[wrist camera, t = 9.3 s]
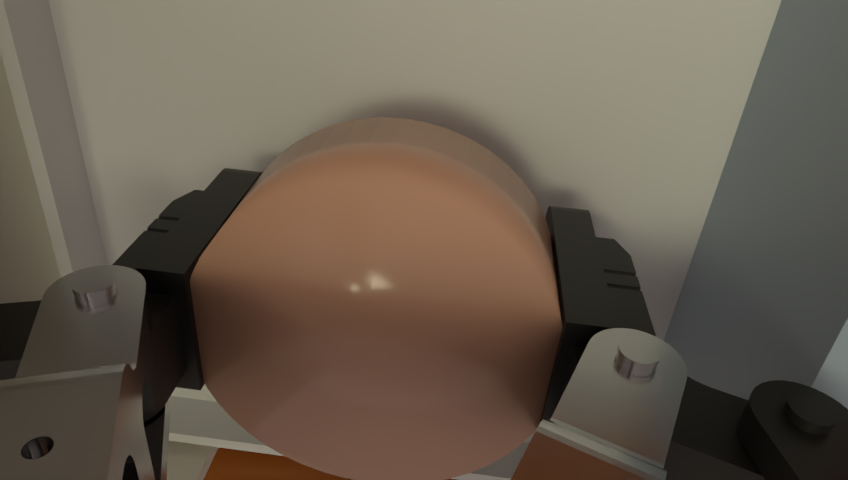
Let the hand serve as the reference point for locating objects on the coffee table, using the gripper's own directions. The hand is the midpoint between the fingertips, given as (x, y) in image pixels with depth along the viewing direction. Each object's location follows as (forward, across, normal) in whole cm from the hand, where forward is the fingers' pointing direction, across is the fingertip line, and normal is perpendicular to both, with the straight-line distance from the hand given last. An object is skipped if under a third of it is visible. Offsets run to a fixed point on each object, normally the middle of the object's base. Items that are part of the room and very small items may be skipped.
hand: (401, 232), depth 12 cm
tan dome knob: (-1, 0, 0) cm, 1 cm away
